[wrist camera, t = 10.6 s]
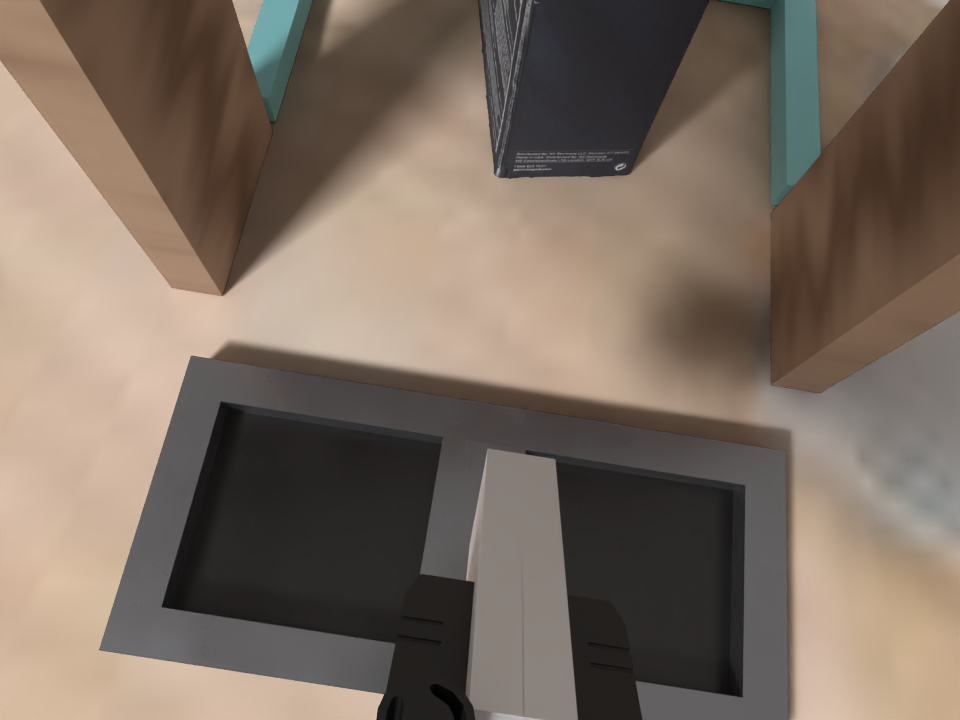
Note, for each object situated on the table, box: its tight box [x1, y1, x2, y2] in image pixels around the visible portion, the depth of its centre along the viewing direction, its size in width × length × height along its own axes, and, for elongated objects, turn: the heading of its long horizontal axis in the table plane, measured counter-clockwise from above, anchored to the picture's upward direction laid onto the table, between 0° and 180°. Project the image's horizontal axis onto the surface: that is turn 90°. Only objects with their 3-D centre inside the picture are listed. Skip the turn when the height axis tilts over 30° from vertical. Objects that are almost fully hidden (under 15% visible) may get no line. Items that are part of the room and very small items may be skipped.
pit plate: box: [99, 356, 788, 720], centre depth 25 cm, size 10×22×1 cm, turn 81°
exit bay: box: [247, 0, 821, 205], centre depth 33 cm, size 13×25×2 cm, turn 81°
